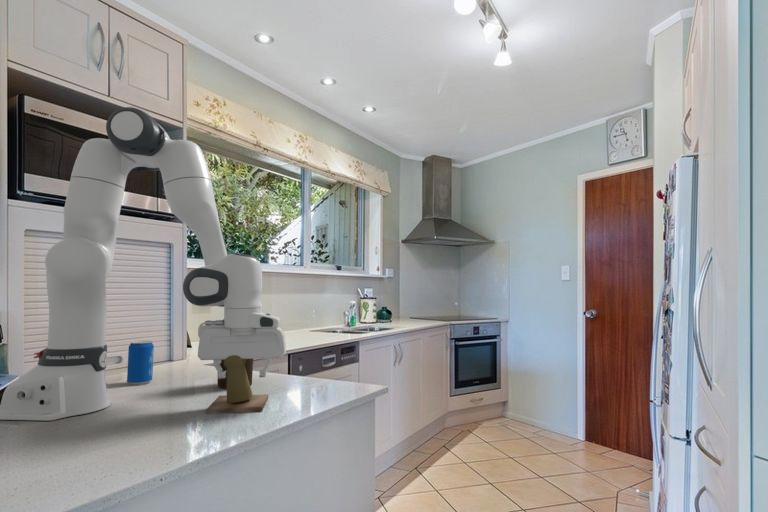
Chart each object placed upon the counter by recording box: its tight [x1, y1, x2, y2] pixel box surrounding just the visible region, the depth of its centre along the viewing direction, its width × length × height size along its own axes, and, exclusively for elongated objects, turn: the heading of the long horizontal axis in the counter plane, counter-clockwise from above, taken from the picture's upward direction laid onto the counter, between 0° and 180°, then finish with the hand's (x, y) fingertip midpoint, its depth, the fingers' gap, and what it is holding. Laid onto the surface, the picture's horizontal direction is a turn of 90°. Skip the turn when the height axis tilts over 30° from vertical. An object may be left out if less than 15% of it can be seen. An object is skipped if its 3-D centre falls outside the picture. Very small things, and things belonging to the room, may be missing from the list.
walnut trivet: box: [206, 393, 269, 414], centre depth 105 cm, size 12×12×1 cm
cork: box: [223, 355, 254, 403], centre depth 105 cm, size 6×6×11 cm
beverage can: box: [126, 340, 155, 386], centre depth 129 cm, size 6×6×12 cm
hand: (242, 377), depth 106 cm, fingers open, 8 cm apart
